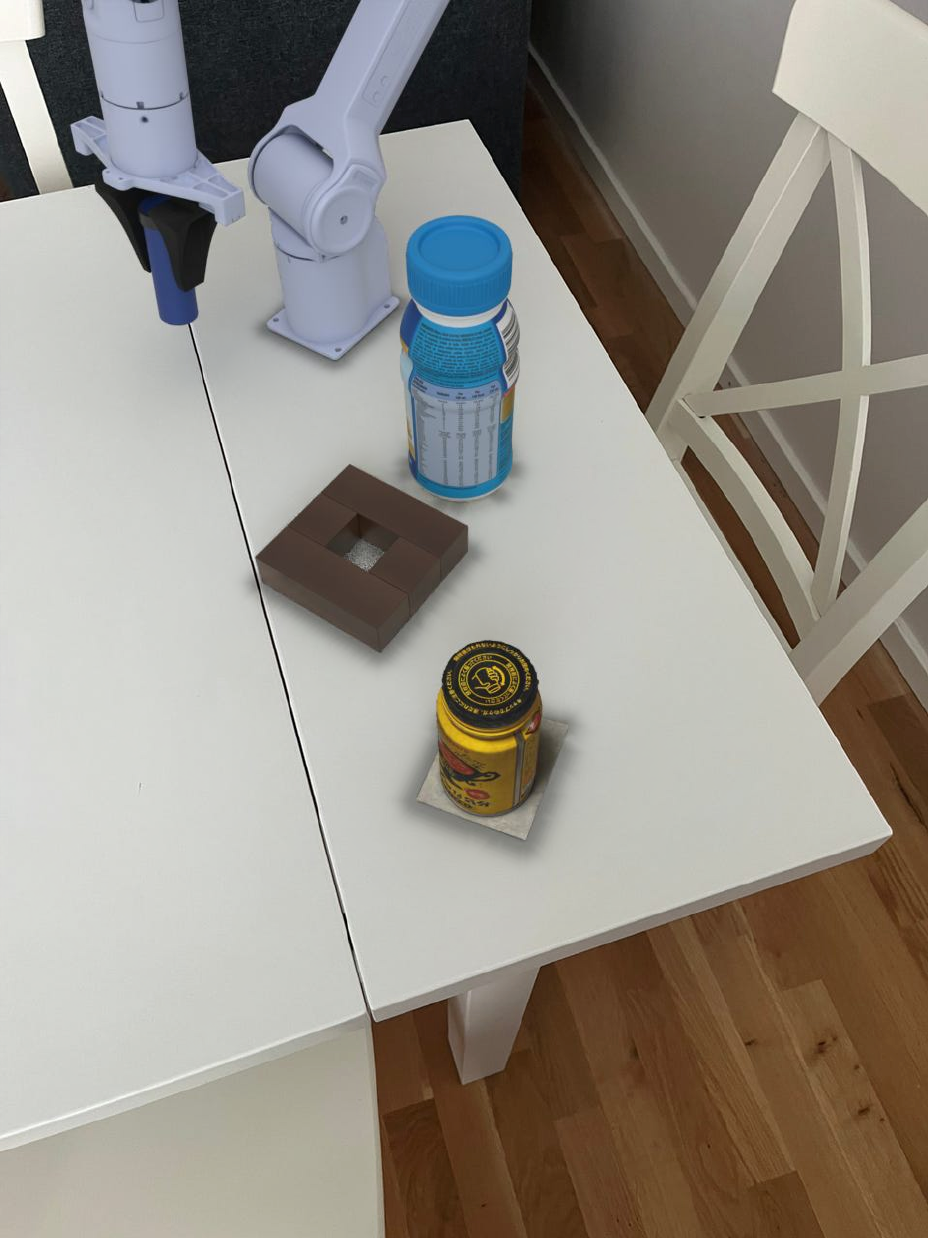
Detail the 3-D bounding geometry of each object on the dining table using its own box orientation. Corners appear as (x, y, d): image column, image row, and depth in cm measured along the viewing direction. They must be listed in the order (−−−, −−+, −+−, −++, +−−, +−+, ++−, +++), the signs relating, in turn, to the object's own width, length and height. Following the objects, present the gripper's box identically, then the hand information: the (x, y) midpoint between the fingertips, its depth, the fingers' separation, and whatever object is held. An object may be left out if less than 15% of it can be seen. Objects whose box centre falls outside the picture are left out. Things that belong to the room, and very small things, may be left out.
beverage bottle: (443, 523, 75) (436, 304, 58) (387, 454, 79) (366, 231, 62) (534, 478, 77) (553, 256, 61) (476, 414, 81) (479, 189, 65)
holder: (353, 489, 77) (349, 463, 74) (468, 551, 73) (468, 525, 71) (261, 582, 72) (254, 556, 69) (380, 653, 68) (377, 629, 66)
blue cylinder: (179, 296, 79) (162, 188, 72) (210, 313, 78) (196, 205, 71) (147, 315, 77) (126, 206, 70) (178, 332, 76) (161, 224, 69)
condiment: (415, 801, 62) (406, 707, 52) (465, 692, 66) (465, 587, 56) (525, 842, 60) (536, 753, 50) (568, 727, 65) (587, 625, 55)
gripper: (17, 71, 64) (65, 259, 75) (180, 150, 60) (206, 338, 70) (101, 40, 68) (135, 223, 79) (260, 111, 64) (273, 295, 74)
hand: (173, 275), depth 75 cm, fingers closed on blue cylinder, 3 cm apart
